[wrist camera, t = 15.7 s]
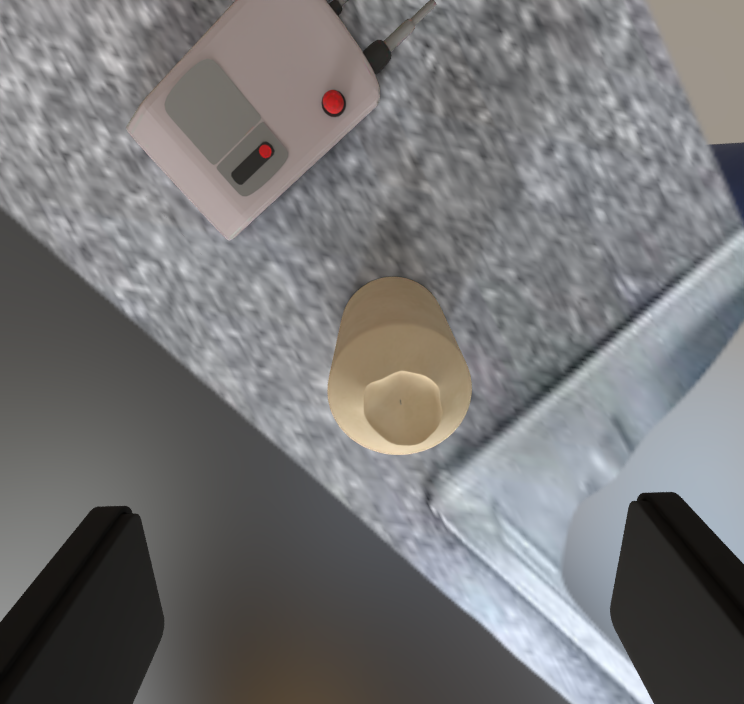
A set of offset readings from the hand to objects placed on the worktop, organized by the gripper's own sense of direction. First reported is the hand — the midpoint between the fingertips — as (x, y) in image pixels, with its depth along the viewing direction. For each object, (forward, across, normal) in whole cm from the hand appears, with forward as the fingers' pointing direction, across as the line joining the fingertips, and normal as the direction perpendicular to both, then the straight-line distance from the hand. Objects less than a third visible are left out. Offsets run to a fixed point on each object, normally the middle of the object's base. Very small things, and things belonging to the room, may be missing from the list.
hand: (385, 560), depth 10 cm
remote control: (+18, +4, -10) cm, 21 cm away
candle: (+18, -1, +1) cm, 18 cm away
